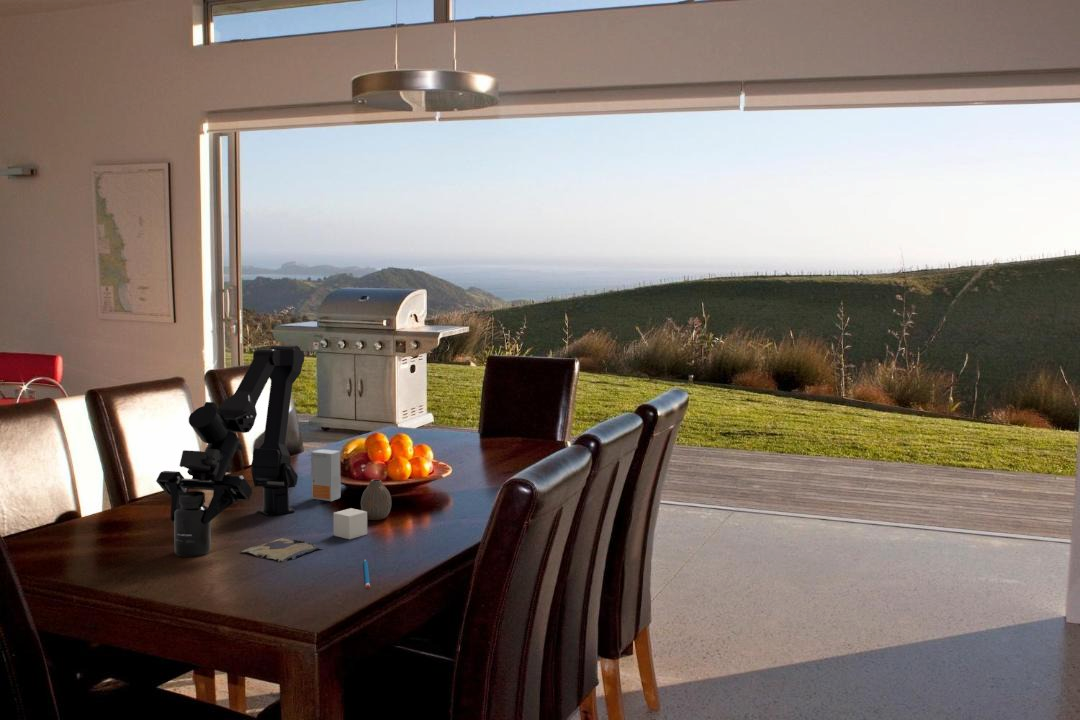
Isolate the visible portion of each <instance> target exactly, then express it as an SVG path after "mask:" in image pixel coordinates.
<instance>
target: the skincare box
mask: <svg viewBox="0 0 1080 720" xmlns="http://www.w3.org/2000/svg"><path fill="white" fill-rule="evenodd" d="M310 466H311V468H310V469H311V471H310V473H311V474H310V475H311V481H310V482H311V483H310V484H311V488H310V489H311V499H312V500H321V501H324V502H325V501H326V502H333V501H335V500H336V501H337V500H339V499H340V498H341V451H340V450H334V449H333V450H332V449H322V448H320V449H317V450H316V449H315V450H313V451H311V453H310Z"/></svg>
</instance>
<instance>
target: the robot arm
mask: <svg viewBox="0 0 1080 720" xmlns="http://www.w3.org/2000/svg"><path fill="white" fill-rule="evenodd" d="M251 360H252V361H251V363H250V365H249V367H248V368H247V370H246V372H245V374H244V376H243V378H242V380H241V382H240V383H239V385H238V386H237V389H236V390H235V392H234V393H233V395H231V396H229V397H227V398H226V399H224V400H223V401H222V403H221V405H220V406H219V407H218V405H217V404H216V402H214V401H205V402H204V404H203V406H199V407H197V408H196V409H195V410H194V411H193V412H191V413H190V414H189V416H188V424H189V425H190V426H191V428H192V429H193V431H194V432H195V433H196V435H197V436H198V437H199V438H200V440H201V442H203V443H204V444H207V445H206V447H205V449H204V451H201V450H200V451H199V450H186V449H184V450H182V452H181V458H180V462H179V467H180V468H185V469H187V472H186V473H187V474H188V475H189V476H192V478H185V477H184V476H183V475H182V473H181V472H180V471H175V470H174V471H172V470H170V471H169V470H163V471H160V473H159V474H158V477H157V478H156V480H155V482H156V483H157V484H158V485H159V487H160V488H161V489H162V491H164V493H165V494H167V496H170V499H171V500H170V501H171V502H170V515H169V517H170V518H169V519H170V521H171V522H172V523H174V512H175V510H176V509H177V508H178V507H180V504H179V495H180V494H181V493H184V492H189V490H190V489H191V490H201V491H202V490H203V491H212V492H213V494H212V498H211V500H210V503H209V505H207V507H208V509H207V511H206V513H205V516H204V519H203V523H204V524H207V523H209V522H210V523H211V522H212V520H213V519H215V518H216V517H218V515H219V514H221V513H222V512H224V511H225V510H226V509H228V508H229V507H230V506H232V505H233V504H237V503H238V502H239V501H243V502H248V501H249V500H250V498H251V496H252V493H253V489H252V487H251V486H250V484H249V482H248V480H246V478H245V476H243V475H242V474H229V473H231V471H232V470H233V469H232V466H230V465H231V462H232V461H233V458H234V456H235V453H236V451H238V452H239V451H243V444H242V442H241V438H240V437H238V436H237V434H238V433H239V434H240V433H241V434H246V433H249V432H250V431H251V430H252V429H253V427H254V424H255V422H256V418H257V416H258V412H257V408H256V405H257V402H258V400H259V399H260V397H261V394H263V391H264V389H265V387H266V384H267V383H268V381H269V379H270V388H269V396H268V405H267V411H266V421H265V428H264V435H263V442H262V443H261V444H260V446H259V447H258V448H254V449H253V452H252V461H251V464H250V473H251V477H252V481H253V485H254V486H253V487H255V488H257V487H259V488H262V494H263V495H262V497H263V498H262V499H263V501H262V502H263V507H260V508H258V509H257V510H258V512H259V513H261V514H264V515H266V516H267V517H270V516H275V515H276V516H277V515H283V514H289V513H295V509H294V508H293V507H290V505H289V504H290V501H289V497H290V496H289V495H290V494H289V489H290V488H296V485H297V484H298V477H299V476H298V474H297V472H296V471H295V469H294V468H293V466H292V465H291V458H292V457H291V455H290V452H289V450H288V448H287V445H286V439H287V431H288V423H289V416H290V407H291V398H292V390H293V384H294V383H295V381H296V380H297V379H298V377H299V376H300V375H301V372H302V369H303V368H302V367H303V364H304V362H305V353H304V351H303V350H301V348H300V347H299V345H285V344H284V345H279V344H278V345H277V344H275V345H274V344H273V345H271V346H270V348H259V349H256V350H255V351H254V353H253V356H252V359H251ZM236 433H237V434H236ZM227 473H228V474H227Z"/></svg>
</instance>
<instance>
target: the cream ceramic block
mask: <svg viewBox="0 0 1080 720" xmlns="http://www.w3.org/2000/svg"><path fill="white" fill-rule="evenodd" d="M332 520H333V536H335V537H338V538H339V537H340V538H342V539H343V538H344V539H348V540H353V539H355V538H359V537H363V536H365V535H368V519H367V512H366V511H362V509H356V508H352V507H350V508H346V509H343V510H340V511H339V510H338V511H334V512H333V519H332Z"/></svg>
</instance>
